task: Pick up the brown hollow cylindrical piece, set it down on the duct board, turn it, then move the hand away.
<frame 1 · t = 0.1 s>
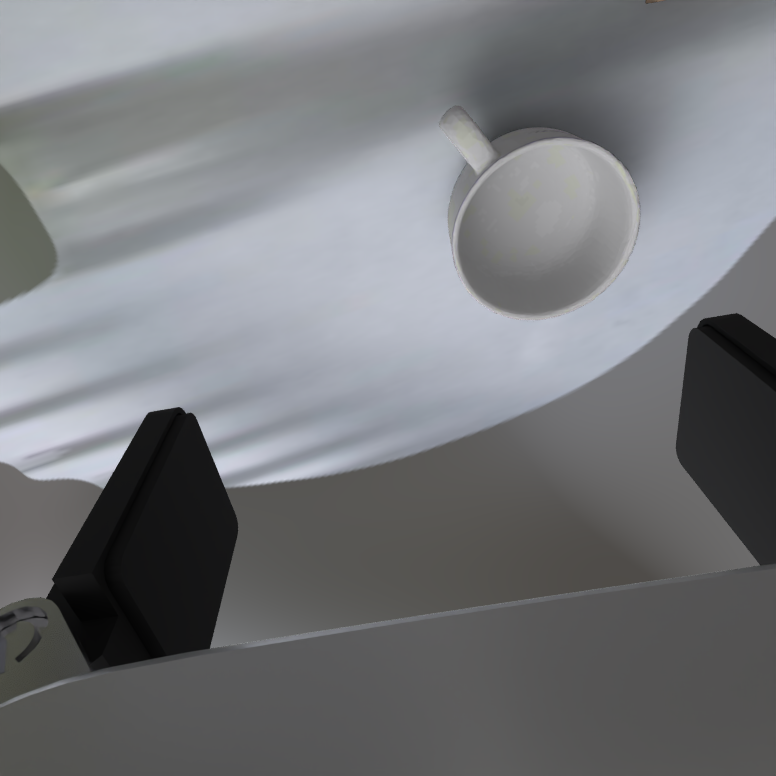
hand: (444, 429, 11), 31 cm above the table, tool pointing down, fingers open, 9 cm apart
teacup: (503, 185, 39), on the table
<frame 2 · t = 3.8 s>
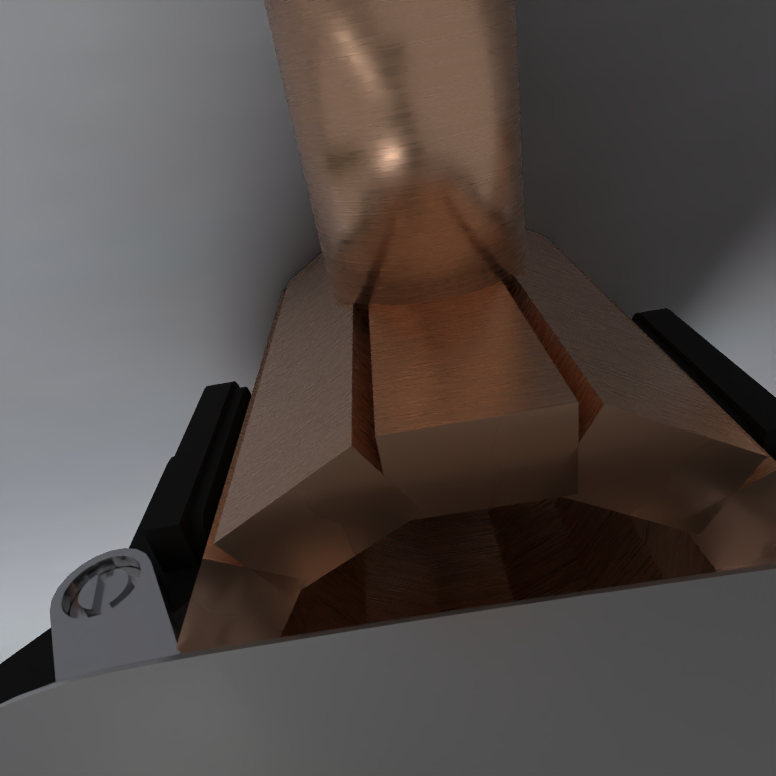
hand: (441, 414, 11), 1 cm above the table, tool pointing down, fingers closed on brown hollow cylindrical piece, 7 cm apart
brown hollow cylindrical piece: (432, 375, 13), on the table, touching gripper
when the fingers open (3 cm above the table, at t = 10.2 s): brown hollow cylindrical piece stays where it is, resting on duct board.
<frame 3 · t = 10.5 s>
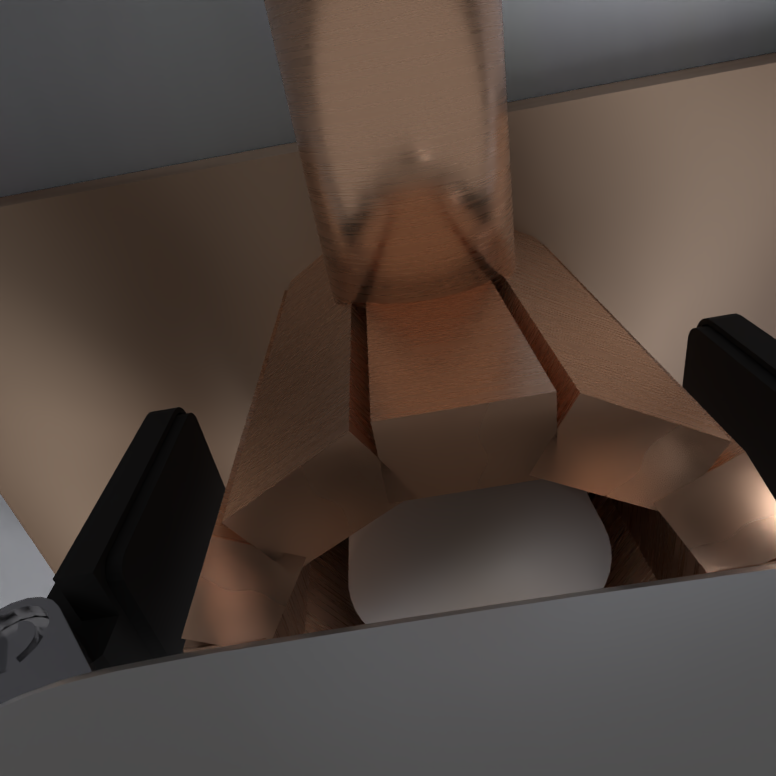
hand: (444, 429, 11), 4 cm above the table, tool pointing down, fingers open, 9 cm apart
brown hollow cylindrical piece: (428, 373, 13), point 1 cm above the table, touching duct board
duct board: (423, 340, 14), on the table
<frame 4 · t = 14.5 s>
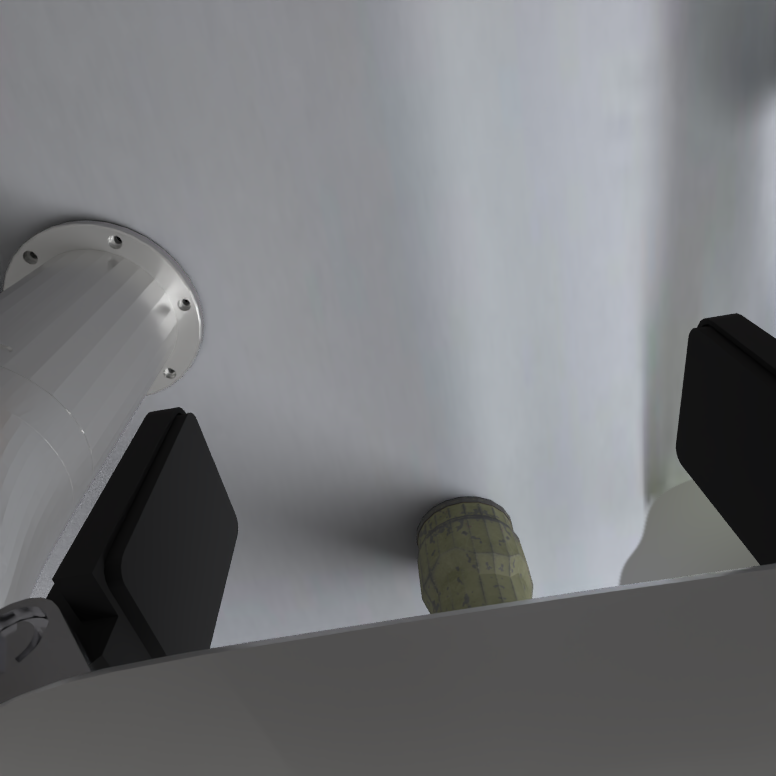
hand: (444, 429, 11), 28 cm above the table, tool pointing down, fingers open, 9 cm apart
thermos: (464, 532, 52), on the table
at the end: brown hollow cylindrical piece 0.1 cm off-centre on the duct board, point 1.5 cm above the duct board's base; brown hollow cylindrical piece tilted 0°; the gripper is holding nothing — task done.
